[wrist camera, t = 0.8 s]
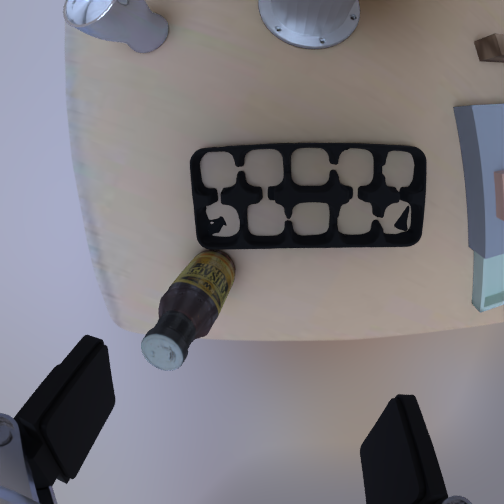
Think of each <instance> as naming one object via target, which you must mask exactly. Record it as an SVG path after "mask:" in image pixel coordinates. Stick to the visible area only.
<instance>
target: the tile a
mask: <svg viewBox="0 0 504 504" xmlns="http://www.w3.org/2000/svg"><path fill="white" fill-rule="evenodd" d="M494 182H495V198H496V217H497V218H499V219H501V220H503V221H504V170H501V171H495V172H494Z"/></svg>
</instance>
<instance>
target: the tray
mask: <svg viewBox="0 0 504 504" xmlns="http://www.w3.org/2000/svg"><path fill="white" fill-rule="evenodd" d="M472 304H473V305H474V306H475V308H476V309H477V310H478V311H479V312H483V311H486V310H489V309H492V308H495V307H498V306H500V305H503V304H504V254H501V255H498V256H494V257H491V258H487V259H484V258H483V257H482V256H480V255H479V254H478V253H476V252H475V251H474V273H473V294H472Z"/></svg>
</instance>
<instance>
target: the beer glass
mask: <svg viewBox="0 0 504 504" xmlns="http://www.w3.org/2000/svg"><path fill="white" fill-rule="evenodd" d="M63 14H64V19H65V21H66V22H67V23H68V24H69V25H70V26H72V27H75V28H77V29H78V30H80V31H82V32H84V33H86V34H88V35H90V36H92V37H95V38H98V39H101V40H106V41H112V42H121V43H126V44H127V45H128V46H129V47H130V48H131V49H132V50H134V51H136V52H138V53H148V52H151V51H153V50H155V49H157V48H158V47H159V46H161V45H162V43H163V42H164V41H165V39H166V37H167V35H168V30H169V27H168V23H167V21H166V19H165V18H164V17H163V16H161V15H159V14H157V13H154V12H152V11H151V10H150V8H149V6H148V5H147V3H146V1H145V0H66V1H65V4H64V9H63Z"/></svg>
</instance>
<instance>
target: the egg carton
mask: <svg viewBox="0 0 504 504" xmlns="http://www.w3.org/2000/svg"><path fill="white" fill-rule="evenodd" d="M299 148H322V149H324V150H325V151H326V152H327V153H328V155H329V161H330V163H331V164H335V165H337V164H338V159H339V155H340V154H341V152H342V151H344V150H348V149H349V148H360V149H366V150H368V151H370V152H371V153H372V155H373V159H374V176H373V180H372V182H371V183H370V184H369V185H367V186H360V187H359V188H358V198H359V199H361V200H363V201H365V202H369V203H371V205H372V213H373V215H375V216H377V217H380V218H383V217H384V212H385V209H386V208H387V207H388V206H389V205H390V204H392V203H398V202H399V200H402V201H405V202H408V203H409V204H410V206H411V226H410V228H409V230H408V231H407V229H408V228H407V218H408V213H409V206H407V207H406V209H405V210H404V212H403V213H402V215H401V217H400V218H399V219H398V220H397V222H396V223H395V224H394V226H395V227H396V228H397V229H400V230H404V231H406V232H401V233H398V234H385V233H383V228H382V226H381V224H380V223H379V221H378V220H373V222H372V226H371V230H370V231H369V232H367V233H365V234H359V235H346V234H342V233H340V232H339V231H338V227H337V218H338V216H339V211H340V208H341V206H342V205H343V204H346V203H348V202H349V199H352V197H353V189H352V187H350V186H345V185H343V184H341V183H340V182H339V176H338V174H337V172H336V170H331V171H330V174H329V180H328V182H327V183H326V184H324V185H322V186H300V185H297V184H295V183H294V182H293V180H292V177H291V155H292V153H293V151H295V150H296V149H299ZM256 149H275V150H278V151H279V152H280V153H281V154H282V157H283V167H284V178H283V181H282V182H281V183H280V184H279V185H277V186H270V187H268V198H269V200H275V202H276V203H277V204H280V205H282V206H283V207H284V210H285V215H286V217H287V219H290V218H291V215H292V209H293V207H294V206H295V205H297V204H299V203H306V202H321V203H327V204H328V205H329V211H330V219H329V228H328V230H327V232H325V233H323V234H319V235H306V236H302V235H298V234H296V233H295V232H294V230H293V226H292V222H291V221H289V220H287V221H285V227H284V230H283V232H282V233H281V234H279V235H276V236H256V235H253V234H251V233H250V231H249V229H248V222H247V208H248V206H249V205H251V204H256V203H259V202H260V201H261V200H262V198H263V195H262V189H261V187H255V186H251V185H250V184H248V183H247V181H246V179H245V173H244V172H243V171H239V172H238V174H237V179H236V184H235V185H233V186H232V187H228V188H224V189H223V190H224V192H223V190H222V192H221V203H222V204H223V205H230V206H232V207H234V208H235V209H236V210H237V212H238V215H239V219H240V230H239V232H238V233H237V234H235V235H233V236H231V237H219V236H213V235H212V234H214V233H219V232H220V230H221V228H222V226H223V225H226V222H225V220H224V218H223V217H221V216H220V218H218V219H214V220H209V219H208V216H207V214H206V206H209V205H211V204H213V203H215V202H217V201H218V193H217V190H216V189H215V188H206V187H205V186H204V184H203V182H202V178H201V172H200V161H201V158H202V157H203V156H204V155H205V154H206V153H207V152H218V151H225V152H229V153H230V154H231V155H232V156H233V158H234V161H235V165H236V167H241V166H243V165H244V158H245V155H246V154H247V153H248V152H249V151H251V150H256ZM393 150H395V151H405V152H409V153H411V155H412V157H413V159H414V165H415V166H414V175H413V180H412V182H411V184H410V185H409V186H408V187H401V188H400V192H398V191H397V190H396V188H395V187H390V186H387V185H386V182H385V177H384V175H383V174H382V166H384V165H385V163H386V157H387V154H388V152H390V151H393ZM426 163H427V162H426V157H425V154H424V153H423V152H422V151H421V150H420V149H419V148H417V147H413V146H403V145H384V144H364V143H273V144H257V145H239V146H226V147H212V148H202V149H199V150H197V151H196V152H195V153H194V154H193V155H192V157H191V159H190V173H191V185H192V196H193V204H194V215H195V225H196V235H197V240H198V242H199V244H200V245H201V246H202V247H204V248H206V249H209V250H220V249H273V248H342V247H408V246H412V245H414V244H416V243H417V242H418V241H419V240H420V238H421V235H422V228H423V219H424V208H425V195H426ZM210 222H214V223H213V224H210ZM208 230H209V231H208Z"/></svg>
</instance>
